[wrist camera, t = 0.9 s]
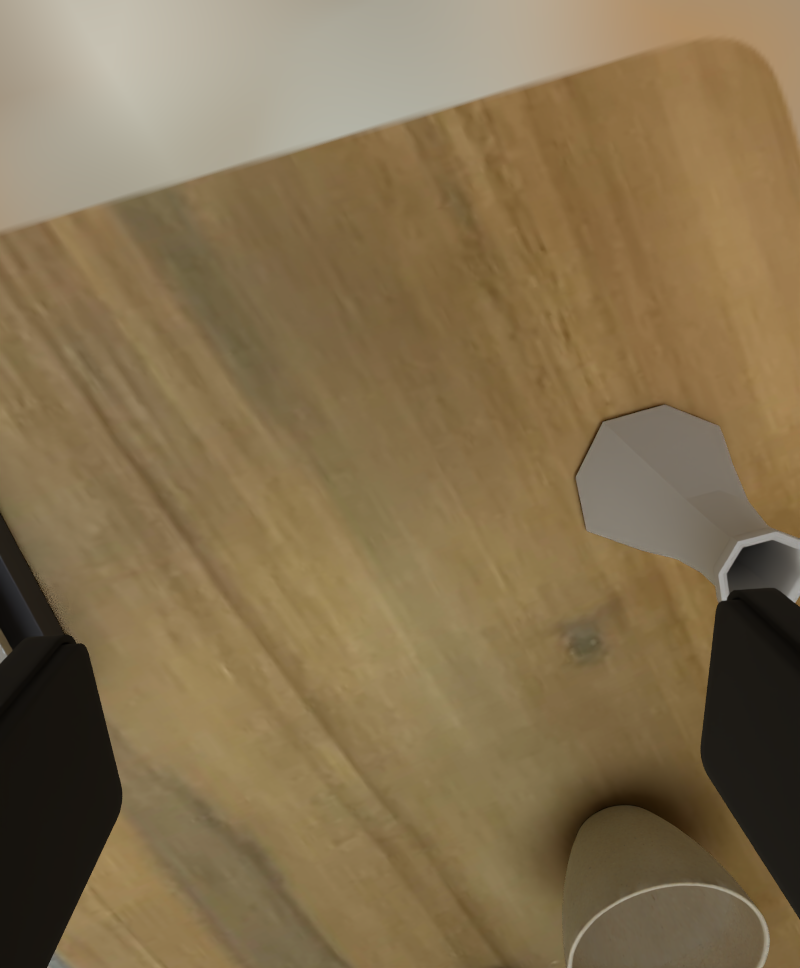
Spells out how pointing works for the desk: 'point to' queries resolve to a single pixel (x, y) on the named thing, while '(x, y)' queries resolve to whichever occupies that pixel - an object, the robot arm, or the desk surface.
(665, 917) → the bowl
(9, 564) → the scale
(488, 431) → the desk surface
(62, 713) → the robot arm
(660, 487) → the flask
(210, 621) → the desk surface
